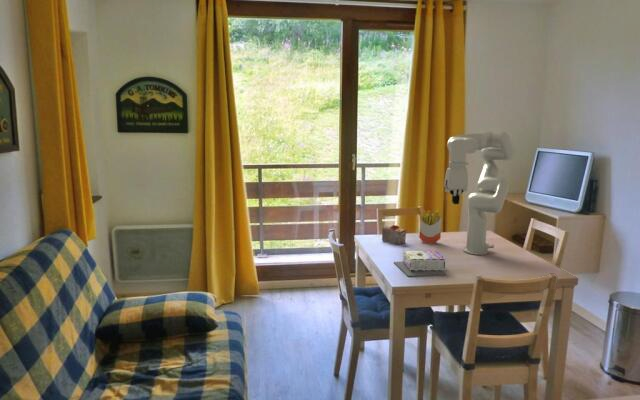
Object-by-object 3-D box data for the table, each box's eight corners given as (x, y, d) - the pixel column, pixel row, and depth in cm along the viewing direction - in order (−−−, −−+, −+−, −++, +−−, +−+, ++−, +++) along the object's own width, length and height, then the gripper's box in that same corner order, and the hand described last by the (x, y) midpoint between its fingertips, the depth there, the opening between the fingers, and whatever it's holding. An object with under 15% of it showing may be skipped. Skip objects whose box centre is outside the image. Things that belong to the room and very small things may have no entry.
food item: (408, 243, 270) (408, 226, 268) (400, 246, 264) (400, 228, 262) (387, 238, 279) (388, 222, 277) (379, 241, 273) (380, 224, 271)
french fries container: (437, 244, 267) (438, 213, 263) (418, 241, 273) (420, 210, 269) (440, 243, 270) (441, 211, 267) (422, 240, 276) (423, 209, 273)
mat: (428, 261, 237) (428, 260, 237) (445, 274, 218) (445, 273, 218) (393, 263, 234) (393, 261, 234) (407, 276, 215) (407, 275, 215)
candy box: (435, 261, 235) (402, 262, 234) (436, 250, 234) (403, 250, 233) (444, 271, 221) (409, 271, 220) (445, 259, 220) (410, 259, 219)
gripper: (467, 163, 230) (466, 201, 234) (438, 165, 227) (437, 203, 231) (475, 165, 223) (474, 204, 227) (446, 167, 220) (444, 206, 224)
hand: (455, 203), depth 229 cm, fingers closed
